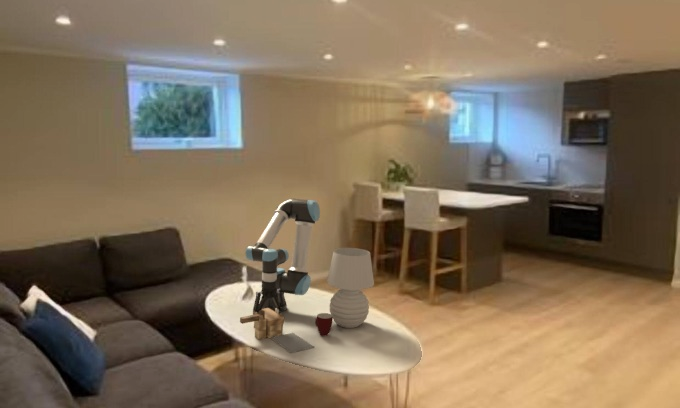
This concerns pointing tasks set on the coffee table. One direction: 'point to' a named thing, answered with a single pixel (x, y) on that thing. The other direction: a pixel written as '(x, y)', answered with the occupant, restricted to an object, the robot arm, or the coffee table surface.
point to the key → (252, 317)
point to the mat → (292, 342)
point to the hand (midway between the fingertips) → (268, 322)
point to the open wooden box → (266, 329)
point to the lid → (272, 317)
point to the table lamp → (350, 285)
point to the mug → (324, 323)
